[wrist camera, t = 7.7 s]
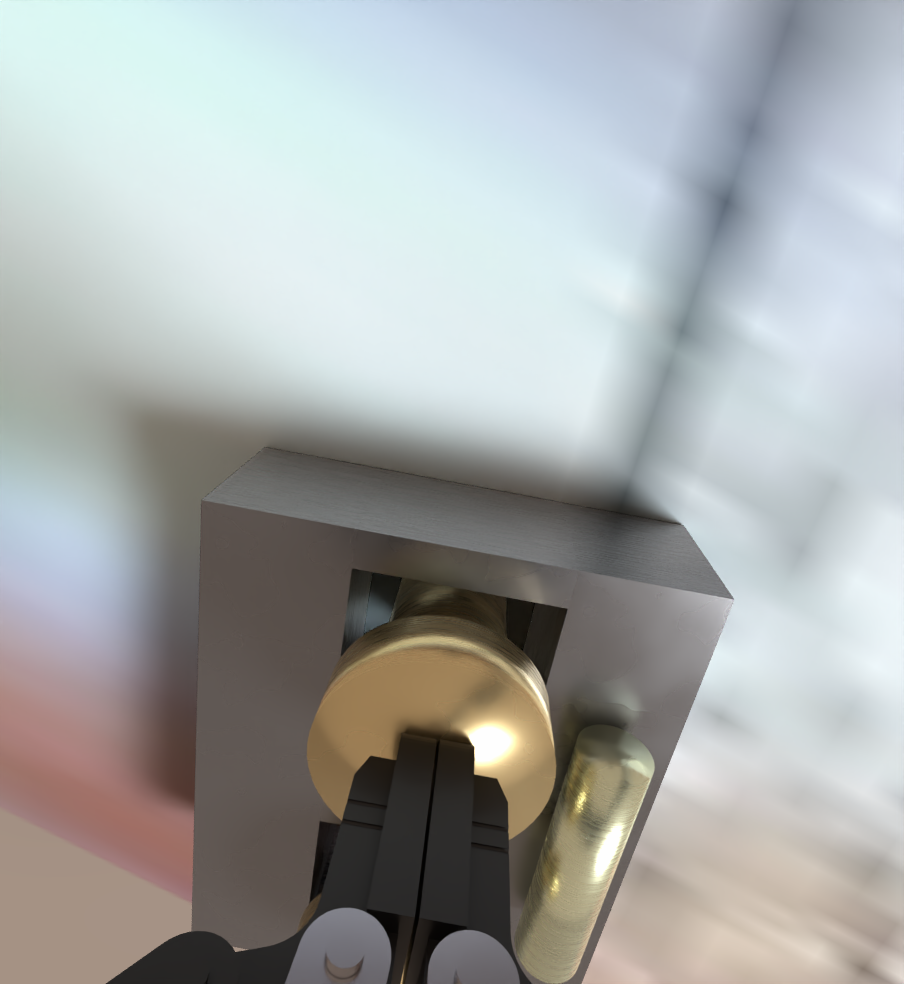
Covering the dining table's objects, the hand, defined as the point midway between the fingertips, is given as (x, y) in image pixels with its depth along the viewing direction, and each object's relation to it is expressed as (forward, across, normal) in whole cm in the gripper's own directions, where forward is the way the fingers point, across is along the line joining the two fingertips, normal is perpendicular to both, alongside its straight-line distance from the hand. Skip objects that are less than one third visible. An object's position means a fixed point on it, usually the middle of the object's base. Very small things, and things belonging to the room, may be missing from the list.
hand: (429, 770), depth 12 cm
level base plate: (+7, 0, +4) cm, 8 cm away
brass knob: (+7, 0, 0) cm, 7 cm away
